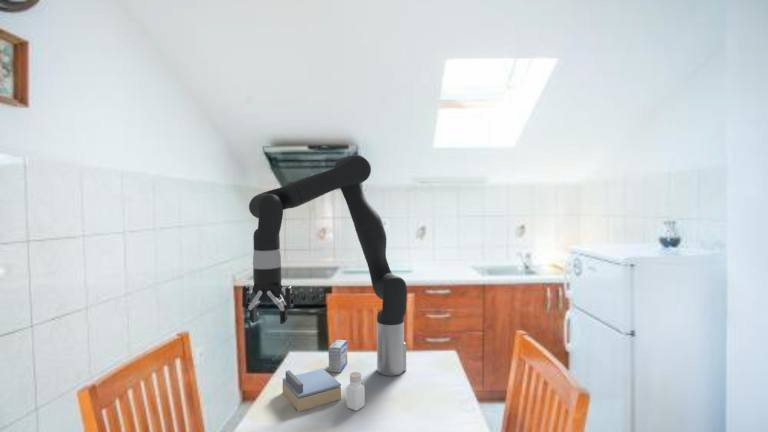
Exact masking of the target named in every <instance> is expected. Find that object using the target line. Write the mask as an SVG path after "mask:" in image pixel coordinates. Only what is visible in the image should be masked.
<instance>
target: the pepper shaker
mask: <svg viewBox="0 0 768 432" xmlns="http://www.w3.org/2000/svg"><path fill="white" fill-rule="evenodd" d="M361 382H362V374H361V373H360V372H357V371H355V372H350V374H349V384H348V385H346V407H347V408H348V409H351V410H353V411H359V410H361V408H364V406H365V403H366V402H365V397H366V396H365V395H366V393H365V385H364V384H362V383H361Z"/></svg>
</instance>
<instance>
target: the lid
mask: <svg viewBox="0 0 768 432" xmlns="http://www.w3.org/2000/svg"><path fill="white" fill-rule="evenodd" d="M283 381H284V383H285V384H286V385H287V386H288V387H289V388H290V389H291V390H292V391H293V393H294V394H295V395H296V396H297V397H298V398H300V397H304V396H307V395H311V394H315V393H318V392H322V391H325V390H329V389H332V388H336V387H341V386H342V384H341V383H340V382H339V381H338V380H336V379H335V378H334V377H333V376H332V375H331V374H329V373H328V372H327V371H326V370H325V369H323V368H320V369H314V370H311V371H307V372H304V373H298V374H296V375H295V374H294V373H293V372H292V371H291V370H285V377H283V378H282V382H283Z"/></svg>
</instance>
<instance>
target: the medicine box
mask: <svg viewBox="0 0 768 432" xmlns="http://www.w3.org/2000/svg"><path fill="white" fill-rule="evenodd" d="M347 365H348V340H346V339H344V340H343V339H335V340H334V342H332V344H331V345H330V346H329V347H328V371H329V372H331V373H342V372H343V370H344V369H345V367H346V366H347Z"/></svg>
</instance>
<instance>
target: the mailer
mask: <svg viewBox="0 0 768 432" xmlns="http://www.w3.org/2000/svg"><path fill="white" fill-rule="evenodd" d="M282 394H283V395H284V396H285V397H286V398H287V400H288V401H289V402H290V403H291V405H292V406H293V407H294V408H295V409H296V411H298V412H302V411H305V410H309V409H312V408H317V407H319V406H322V405H326V404H328V403H333V402H336V401H338V400H341V399H342V387H341V386H340V387H336V388H332V389H329V390H325V391H322V392H318V393H315V394H311V395H307V396H304V397H300V398H298V397H297V396H296V395H295V394H294V393H293V391H292V390H291V389H290V388H289V387H288V386H287V385H286V384H285V383H284V381H283V380H282Z"/></svg>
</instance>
